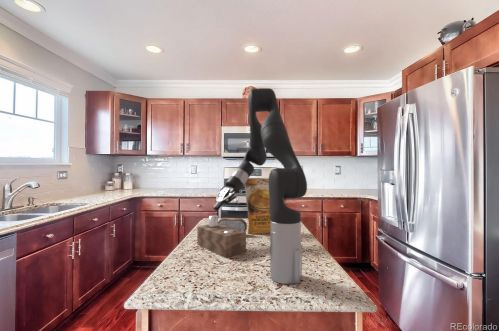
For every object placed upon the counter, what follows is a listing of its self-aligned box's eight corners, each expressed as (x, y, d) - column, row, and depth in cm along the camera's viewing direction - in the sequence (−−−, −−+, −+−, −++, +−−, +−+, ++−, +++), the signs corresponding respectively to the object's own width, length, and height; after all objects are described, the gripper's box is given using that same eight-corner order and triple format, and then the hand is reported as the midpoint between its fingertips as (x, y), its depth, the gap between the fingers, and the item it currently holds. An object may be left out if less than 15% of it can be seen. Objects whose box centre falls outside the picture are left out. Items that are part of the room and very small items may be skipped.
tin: (247, 234, 126) (247, 217, 127) (246, 236, 123) (246, 219, 123) (217, 233, 128) (217, 217, 128) (216, 235, 125) (216, 218, 125)
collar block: (245, 252, 100) (246, 231, 100) (225, 257, 93) (225, 236, 93) (216, 240, 116) (216, 223, 116) (197, 244, 109) (197, 226, 109)
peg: (219, 234, 109) (219, 216, 109) (211, 236, 106) (212, 217, 106) (214, 233, 112) (214, 215, 112) (206, 234, 109) (207, 216, 109)
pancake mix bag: (243, 231, 132) (243, 178, 132) (277, 229, 136) (277, 178, 137) (245, 235, 125) (245, 178, 126) (281, 232, 130) (281, 178, 130)
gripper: (224, 174, 121) (201, 202, 113) (241, 175, 111) (218, 205, 103) (233, 185, 124) (211, 212, 116) (250, 186, 114) (228, 217, 106)
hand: (214, 209), depth 109 cm, fingers closed
